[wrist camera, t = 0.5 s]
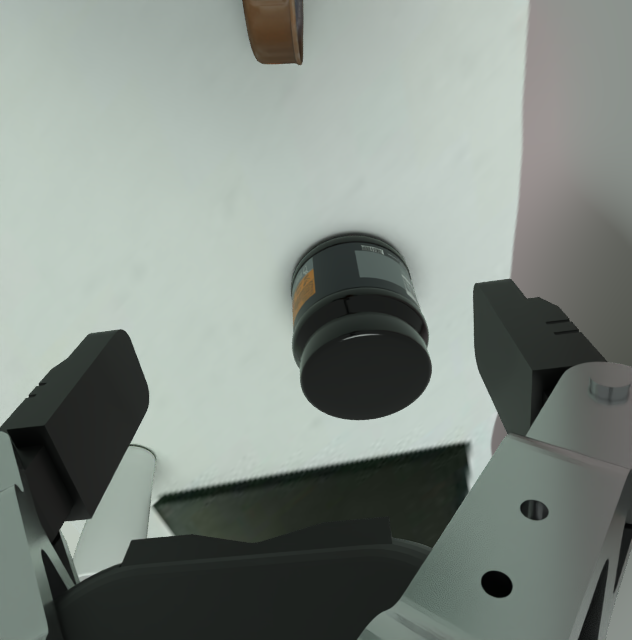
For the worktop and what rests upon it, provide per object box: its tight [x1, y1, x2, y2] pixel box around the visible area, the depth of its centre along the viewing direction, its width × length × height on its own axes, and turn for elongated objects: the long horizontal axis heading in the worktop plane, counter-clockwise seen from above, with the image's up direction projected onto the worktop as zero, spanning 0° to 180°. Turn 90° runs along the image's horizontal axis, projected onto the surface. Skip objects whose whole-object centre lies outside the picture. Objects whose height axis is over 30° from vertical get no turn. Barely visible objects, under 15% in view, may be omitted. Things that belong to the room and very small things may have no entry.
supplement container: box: [291, 235, 432, 420], centre depth 42 cm, size 10×10×12 cm
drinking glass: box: [73, 446, 156, 582], centre depth 56 cm, size 7×7×15 cm
